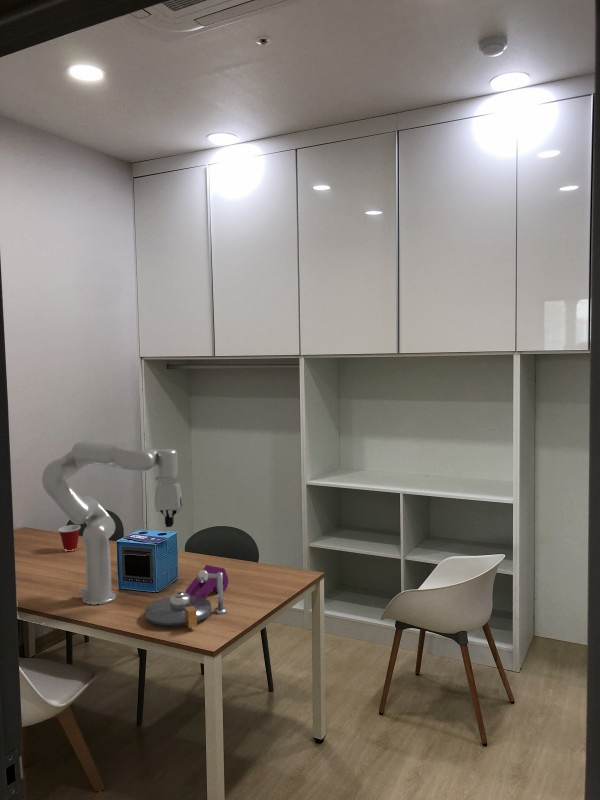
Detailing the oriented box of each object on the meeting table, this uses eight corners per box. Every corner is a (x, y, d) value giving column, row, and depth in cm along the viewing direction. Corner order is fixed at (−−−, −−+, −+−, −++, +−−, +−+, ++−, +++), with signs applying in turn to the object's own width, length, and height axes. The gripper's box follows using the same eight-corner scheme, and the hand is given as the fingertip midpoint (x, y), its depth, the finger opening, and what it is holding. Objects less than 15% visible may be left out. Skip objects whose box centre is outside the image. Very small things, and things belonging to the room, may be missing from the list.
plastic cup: (54, 551, 323) (53, 528, 323) (73, 546, 332) (72, 523, 331) (66, 555, 317) (65, 531, 316) (85, 550, 325) (85, 526, 325)
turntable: (159, 634, 218) (158, 617, 218) (137, 608, 242) (137, 592, 242) (224, 620, 230) (224, 603, 230) (197, 596, 254) (197, 581, 254)
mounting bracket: (205, 615, 253) (230, 583, 267) (199, 599, 250) (224, 568, 263) (187, 611, 258) (212, 580, 272) (180, 595, 255) (206, 564, 268)
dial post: (196, 612, 241) (195, 571, 240) (201, 607, 246) (200, 567, 245) (224, 614, 239) (224, 573, 238) (229, 609, 244) (228, 568, 243)
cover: (173, 611, 233) (173, 597, 233) (168, 605, 239) (167, 591, 239) (192, 608, 236) (191, 594, 236) (186, 602, 243) (186, 588, 242)
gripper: (146, 481, 251) (147, 528, 253) (182, 482, 248) (183, 529, 250) (154, 478, 259) (155, 523, 260) (189, 479, 256) (190, 524, 257)
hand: (169, 526), depth 255 cm, fingers closed
